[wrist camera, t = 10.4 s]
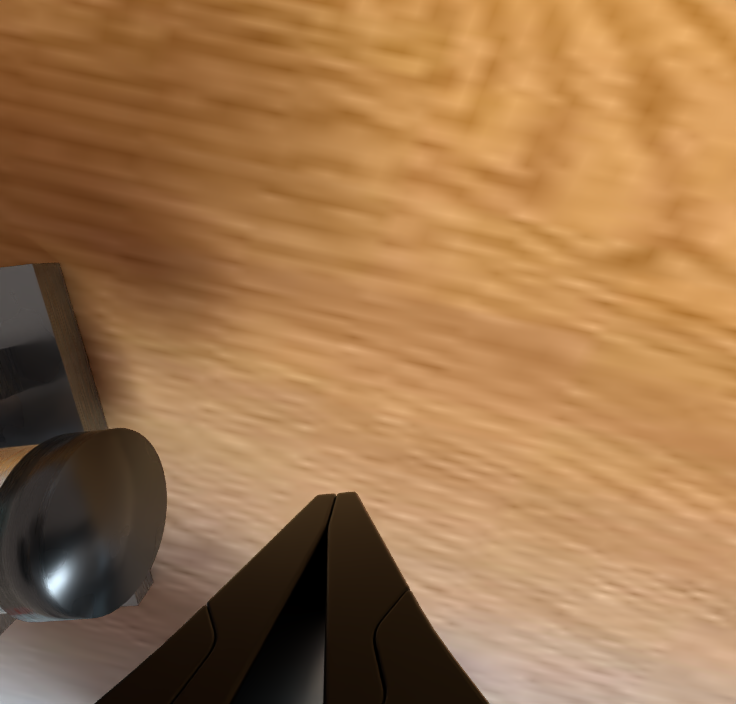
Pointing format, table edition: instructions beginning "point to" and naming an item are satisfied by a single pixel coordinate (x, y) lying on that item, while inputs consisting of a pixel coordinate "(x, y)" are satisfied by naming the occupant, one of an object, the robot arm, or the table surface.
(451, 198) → the table surface
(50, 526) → the shaft
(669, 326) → the table surface
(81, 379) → the bearing stand
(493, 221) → the table surface
